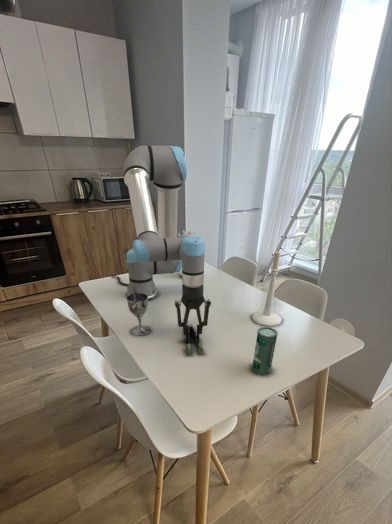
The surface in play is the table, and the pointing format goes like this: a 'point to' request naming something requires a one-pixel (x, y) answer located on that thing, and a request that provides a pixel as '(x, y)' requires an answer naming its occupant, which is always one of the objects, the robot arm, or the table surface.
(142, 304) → the wine glass
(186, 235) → the flower vase
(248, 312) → the table surface
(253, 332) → the table surface
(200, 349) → the tongs
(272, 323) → the candlestick
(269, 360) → the can
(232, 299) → the table surface
